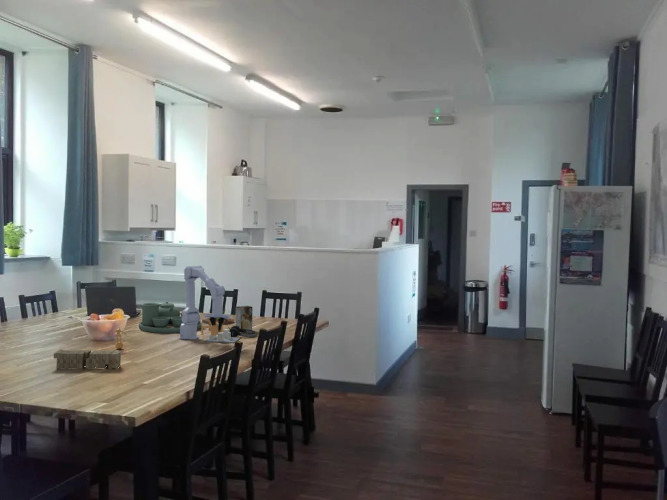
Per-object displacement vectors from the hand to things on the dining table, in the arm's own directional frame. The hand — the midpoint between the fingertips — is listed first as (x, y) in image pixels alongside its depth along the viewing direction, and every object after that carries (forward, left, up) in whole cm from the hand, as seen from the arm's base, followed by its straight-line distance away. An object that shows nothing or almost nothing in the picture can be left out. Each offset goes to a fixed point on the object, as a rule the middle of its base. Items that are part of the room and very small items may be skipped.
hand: (217, 330), depth 332 cm
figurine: (-47, -24, -9) cm, 53 cm away
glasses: (-3, 0, -1) cm, 3 cm away
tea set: (-46, +45, -9) cm, 66 cm away
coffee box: (+3, +46, -9) cm, 47 cm away
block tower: (-42, -62, -9) cm, 76 cm away
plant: (-23, +73, -9) cm, 77 cm away
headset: (+5, +31, -9) cm, 32 cm away
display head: (-1, +14, -8) cm, 17 cm away
